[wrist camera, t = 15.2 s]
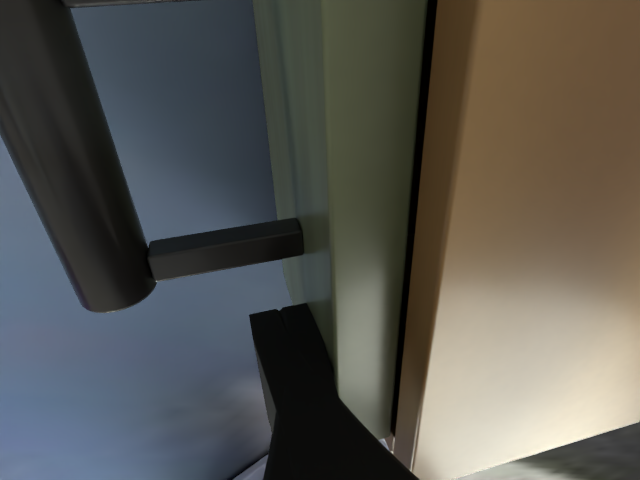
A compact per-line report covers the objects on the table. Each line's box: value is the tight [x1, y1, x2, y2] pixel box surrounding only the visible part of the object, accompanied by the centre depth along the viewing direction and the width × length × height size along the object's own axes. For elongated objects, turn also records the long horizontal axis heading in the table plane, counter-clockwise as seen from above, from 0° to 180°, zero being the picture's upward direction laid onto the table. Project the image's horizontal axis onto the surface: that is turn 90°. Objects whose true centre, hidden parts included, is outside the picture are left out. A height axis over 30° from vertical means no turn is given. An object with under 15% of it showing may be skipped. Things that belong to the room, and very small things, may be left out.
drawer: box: [0, 0, 438, 440], centre depth 9 cm, size 19×12×6 cm, turn 92°
